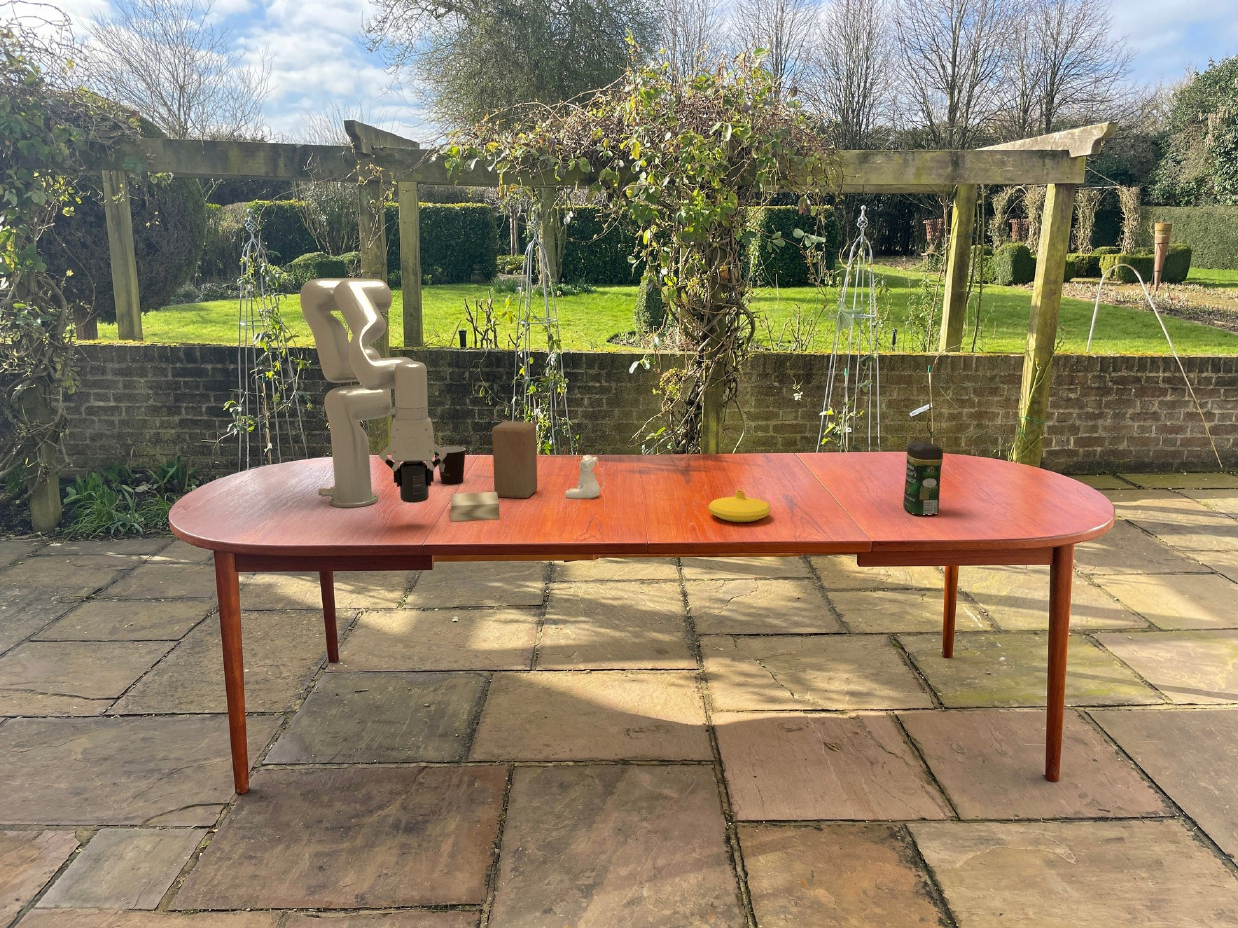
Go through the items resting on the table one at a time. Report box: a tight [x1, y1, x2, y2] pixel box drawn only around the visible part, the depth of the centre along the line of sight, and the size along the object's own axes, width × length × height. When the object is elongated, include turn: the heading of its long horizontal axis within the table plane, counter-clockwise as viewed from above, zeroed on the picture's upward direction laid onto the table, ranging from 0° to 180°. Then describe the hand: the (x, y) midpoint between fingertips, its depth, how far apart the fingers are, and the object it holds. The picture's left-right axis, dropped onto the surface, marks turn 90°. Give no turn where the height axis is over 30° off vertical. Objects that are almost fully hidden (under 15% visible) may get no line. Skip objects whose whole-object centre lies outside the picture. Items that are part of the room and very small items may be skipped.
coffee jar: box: [902, 440, 944, 516], centre depth 221 cm, size 10×8×19 cm
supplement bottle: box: [399, 461, 430, 504], centre depth 209 cm, size 7×7×12 cm
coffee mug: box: [434, 446, 467, 486], centre depth 256 cm, size 12×9×10 cm
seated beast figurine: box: [565, 454, 601, 500], centre depth 238 cm, size 10×9×12 cm
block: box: [492, 421, 538, 499], centre depth 240 cm, size 10×10×20 cm
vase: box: [708, 490, 772, 523], centre depth 218 cm, size 16×16×7 cm
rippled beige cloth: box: [450, 491, 501, 522], centre depth 222 cm, size 12×12×4 cm
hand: (414, 484), depth 210 cm, fingers closed on supplement bottle, 6 cm apart
